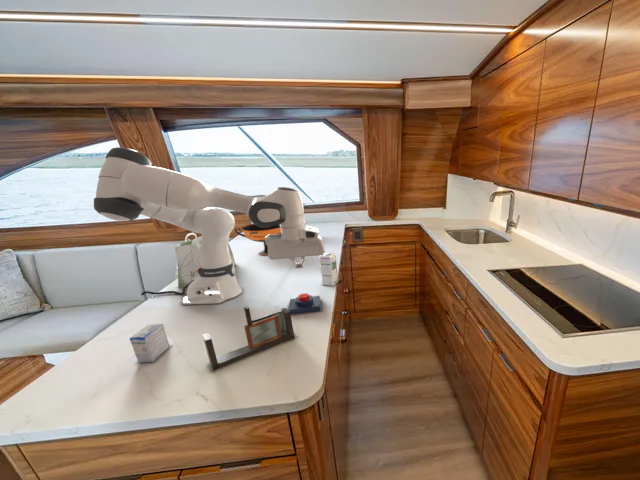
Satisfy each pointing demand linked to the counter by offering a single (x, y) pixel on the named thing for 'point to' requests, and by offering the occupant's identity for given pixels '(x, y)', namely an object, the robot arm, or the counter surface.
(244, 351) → the window frame
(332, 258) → the syrup box
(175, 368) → the counter surface
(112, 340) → the counter surface
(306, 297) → the button
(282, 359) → the counter surface
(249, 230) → the cup
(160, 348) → the medicine box
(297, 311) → the button box
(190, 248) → the grocery bag
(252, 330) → the sash
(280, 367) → the counter surface
